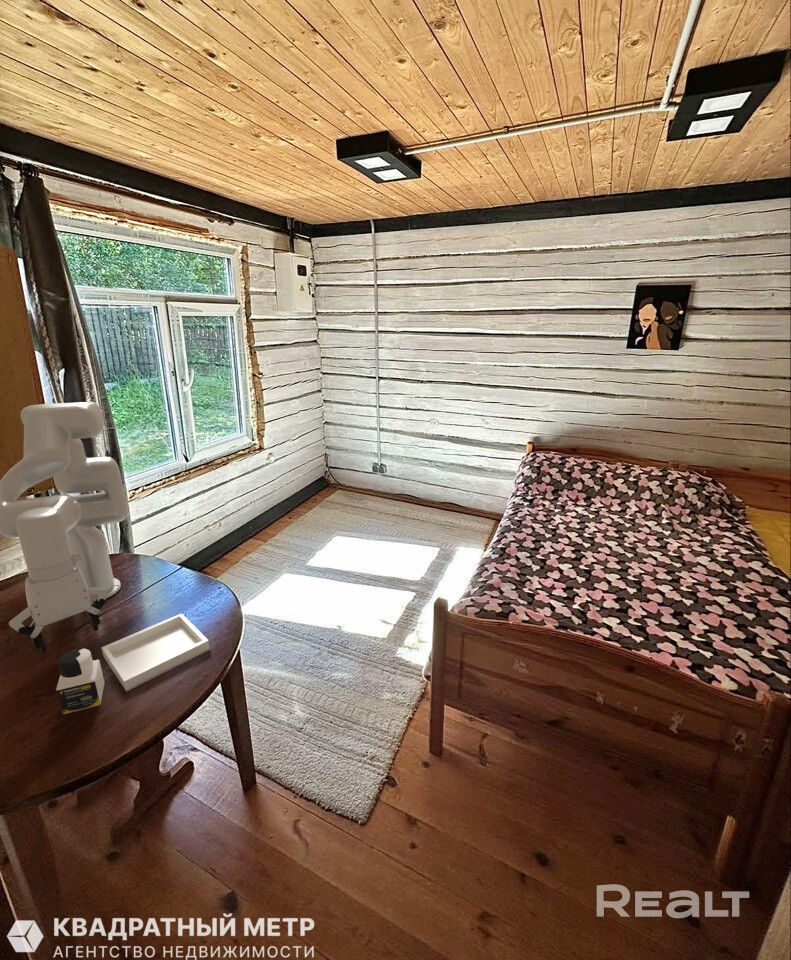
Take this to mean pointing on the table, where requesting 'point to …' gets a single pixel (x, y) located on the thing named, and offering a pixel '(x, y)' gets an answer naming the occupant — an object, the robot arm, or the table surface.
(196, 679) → the table surface
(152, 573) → the table surface
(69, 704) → the medicine bottle
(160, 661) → the tray
